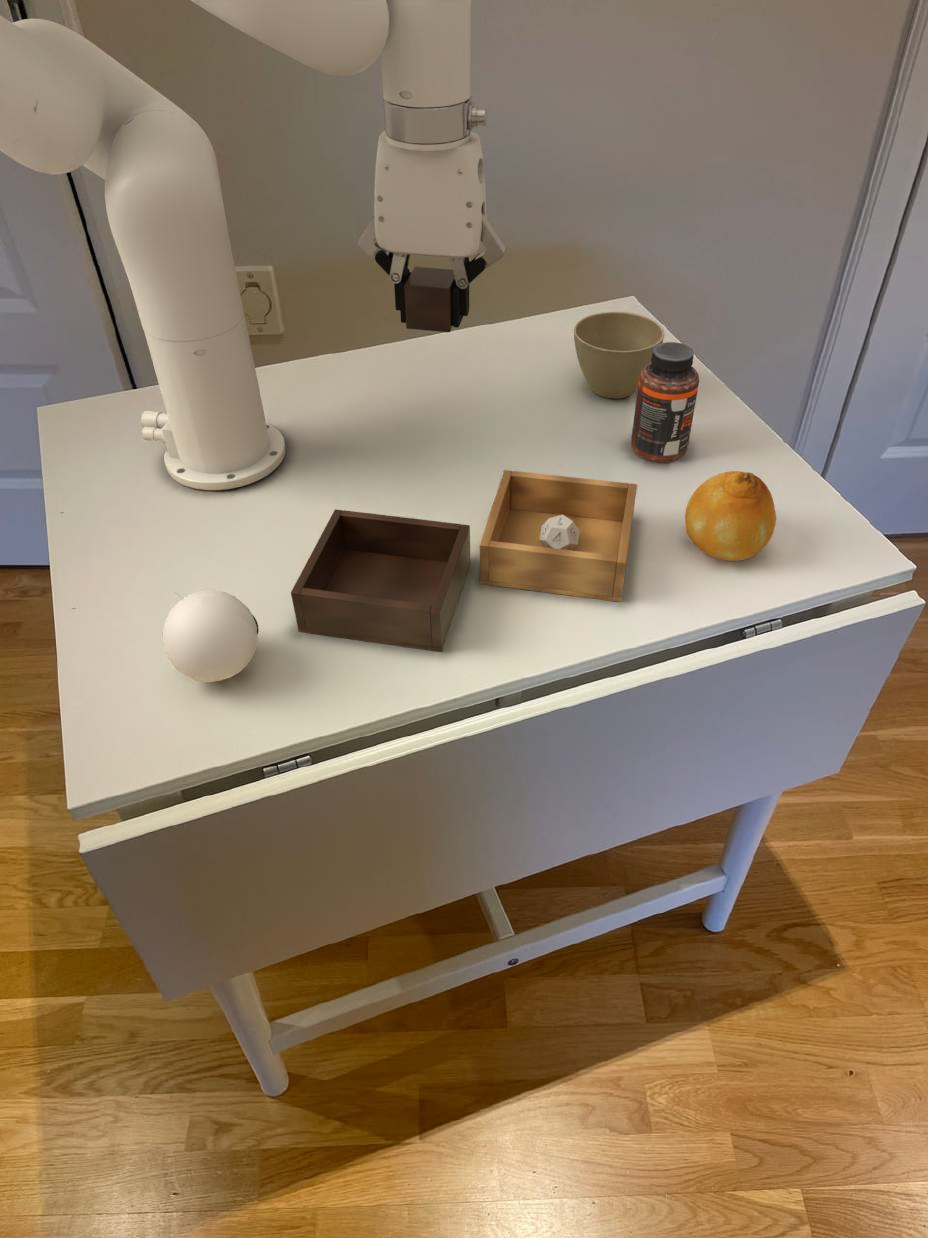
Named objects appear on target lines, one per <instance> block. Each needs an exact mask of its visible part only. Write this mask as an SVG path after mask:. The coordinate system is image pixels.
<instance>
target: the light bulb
mask: <svg viewBox="0 0 928 1238" xmlns="http://www.w3.org/2000/svg"><path fill="white" fill-rule="evenodd" d="M175 594H176V595H177V596H179V597H181V600H180V601H178V602H177V603H176V604H175V605H173V606H172V608H171V609H170V611H169V612H168V614H167V616H166V619H165V622H164V625H163V629H162V643H163V644H162V645H163V648H164V651H165V652H164V653H165V655H166V657H167V658H168V659H169V661H170V663H171V664H172V666H173V667H174V668H175V669H176V670H177V671H178V672H179V673H181V674H183V675H185V676H186V677H188V678H190V679H192V680H195V681H198V682H204V683H213V682H220V681H224V680H227V679H230V678H232V677H234V676H235V675H238V674H239V673H241V672H242V671H243V670H244V669H245V668H246V667H247V666H248V665H249V663H250V661H251V660H252V658H253V656H254V654H255V652H256V649H257V647H258V635H259V623H258V621H257V619H256V617H255V616H254V614H253V613H252V612H251V609H250V608H249V607H248V606H247V605H246V604H245V603H244V602H243V601H241V600H240V599H238V597H237V596H235V595H233V594H230V593H228V592H225V591H219V590H212V589H207V590H205V589H204V590H199V591H196V592H192V593H190V594H189V595H186V596H185V597H182V596H181V595H180V594H178V593H177V592H175Z"/></svg>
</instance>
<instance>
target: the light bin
mask: <svg viewBox="0 0 928 1238" xmlns="http://www.w3.org/2000/svg"><path fill="white" fill-rule="evenodd" d="M500 478H501V479H500V482H499V484H498V488H497V491H496V494H495V497H494V500H493V503H492V506H491V509H490V512H489V515H488V517H487V521H486V525H485V528H484V531H483V534H482V536H481V537H482V538H481V540H480V543H479V584H480V585H486V586H494V587H501V588H502V587H503V588H508V589H509V588H510V589H518V590H526V591H534V592H541V593H548V594H556V595H565V596H573V597H581V598H586V599H588V598H589V599H596V600H602V601H611V602H619V603H621V602H622V599H623V591H624V584H625V577H626V570H627V563H628V556H629V550H630V549H629V547H630V541H631V535H632V534H631V533H632V527H633V519H634V512H635V505H636V504H635V503H636V497H637V490H638V484H637V483H628V482H621V481H612V480H600V479H593V478H592V479H591V478H583V477H573V476H563V475H555V474H545V473H538V472H537V473H536V472H535V473H534V472H527V471H519V470H518V471H517V470H510V469H509V470H507V469H504V470H503V473H502V475H501V477H500ZM559 515H564V516H566V517H567V518H569V519H570V520H572V521H573V522H574V523H575V524H576V526H577V527H578V529H579V530H580V534H579V540H578V545H577V546H576V547H574V548H573V549H572V550H563V549H555V548H547V547H545V546H544V545H543V543H542V542H541V541H540V540H539V539H540V534H541V528H542V525H543V524H544V523H545V522H546V521H547V520H548V519H549V518H552V517H555V516H559Z"/></svg>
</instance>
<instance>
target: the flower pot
mask: <svg viewBox="0 0 928 1238" xmlns="http://www.w3.org/2000/svg"><path fill="white" fill-rule="evenodd" d="M664 339H665V330H664V328H663V327H662V326H661V324H660V323H658V322H657V321H656V320H654V319H652V318H650V317H647V316H645V315H642V314H638V313H634V312H628V311H603V312H598V313H593V314H590V315H587V316H585V317H582V318H581V319H579V320H578V321H577V323H575V325H574V327H573V341H574V348H575V352H576V357H577V361H578V365H579V367H580V370H581V372H582V374H583V376H584V379H585V381H586V382H587V384H588V386H589V388H590V389H591V391H592V393H594V394H596V395H597V396H599V397H602V398H605V399H611V400H613V399H614V400H616V399H624V398H627V397H630V396H631V395H632V394H634V392H636V390H638V384H639V377H640V373H641V371H642V369H643V368H644V367H645V366H646V365H648V364H649V363H651V357H652V353H653V349H654V347H655V346H656V345H658V344H661V343H664Z"/></svg>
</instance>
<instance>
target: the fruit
mask: <svg viewBox="0 0 928 1238" xmlns="http://www.w3.org/2000/svg"><path fill="white" fill-rule="evenodd" d="M772 495H773V494H772V493H771V490H770V489H769V487H768V486H767V484H766V483H765V481H764V480H763V479H761V477H759V476H757V475H755V474H754V473H753V472H747V471H741V470H730V471H725V472H721V473H717V474H715V475H712V476H711V477H709V478H708V479H706V480H705V481H703V482H702V483H701V484H700V485H699V486H698V487H697V488H696V489H695V491H694V492H693V493H692V495H691V496H690V498H689V499H688V502H687V504H686V507H685V512H684V514H685V515H684V523H685V528H686V532H687V535H688V537H689V538H690V540H691V542H692V543H693V544H694V545H695V546H696V548H697V549H698V550H700V551H701V552H703V553H705V554H707V555H708V556H710V557H712V558H715V559H719V560H722V561H728V562H729V561H730V562H738V561H743V560H749V559H750V558H753V557H754V556H755V557H756V555H758V554H759V553H760V552H761V551H762V550H764V548H765V547H767V546H768V544H769V542H770V540H771V539H772V537H773V535H774V533H775V528H776V523H777V512H776V509H775V507H776V506H775V502H774V498H773V496H772Z"/></svg>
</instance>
